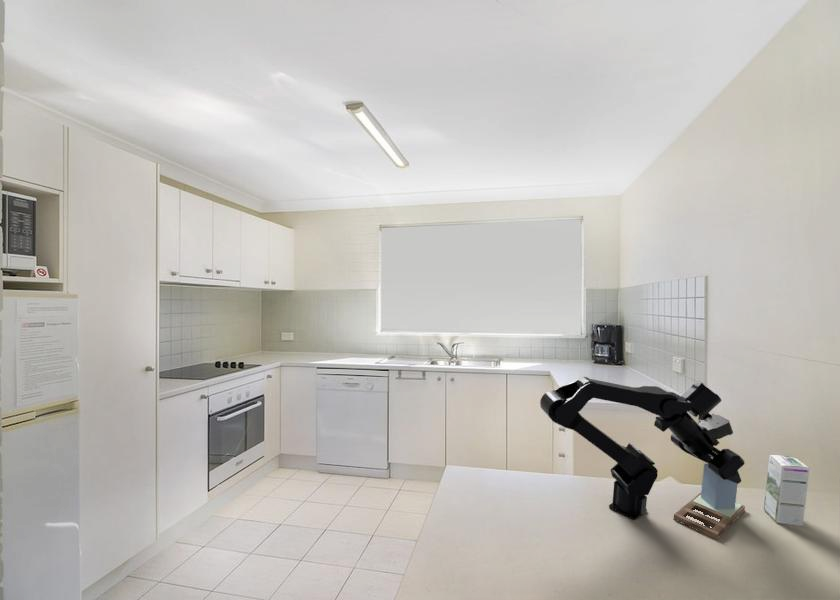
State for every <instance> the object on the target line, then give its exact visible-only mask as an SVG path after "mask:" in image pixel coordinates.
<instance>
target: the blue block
mask: <svg viewBox="0 0 840 600" xmlns="http://www.w3.org/2000/svg"><path fill="white" fill-rule="evenodd" d="M708 465H709V464H708V463H704V464H703V474H702V481H701V490H700V491H701V492H700V493H701V498H702V499H703V500H704V501H706V502H707V503H708V504H709V505H710V506H711V507H713V508H714V509H735V502H736V499H737V493H738V485H739V484H737V483H734V482H732V481H729V480H727V479H726V480H723V479H722V478H720V477H719V476H718V475H716V474H715V473H714V472H713V471H712V470H711V469H710V468H709V467H708ZM736 503H737V502H736Z"/></svg>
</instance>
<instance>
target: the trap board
mask: <svg viewBox="0 0 840 600" xmlns="http://www.w3.org/2000/svg"><path fill="white" fill-rule="evenodd" d="M745 508H746V506H745V505H743V504H741V503H738V502H735V509H714V508H713V507H711V506H710V505H709V504H708V503H707V502H706V501H704V500H703V499H702V498H701V492H699V493H698V494H696V496H694V497H693V498H692V499H691V500H690V501H688V502H687V503H686V504H685V505H684V506H682V507H681V508H680V509H679V510H678V511H677V512H676V513H674V514H673V520H674V519H676V520H678V521H680V522H682V523H681V524H683V523H684V524H683V525H685V524H686V525H685V526H687V525H688V526H687V527H689V526H691V527H693V528H695V529H697V530H696V531H698V530H699V531H698V532H700V531H701V532H700V533H702V532H703V533H702V534H704V533H705V534H704V535H706V534H707V535H706V536H708V535H709V537H710V536H711V538H713V539H715V540H718V539H717V538H718V537H719V536H720V535H721V534H722V535H723V534H724V533H725V532H726V530H728V529H729V527H731V525H732V524H733V523H734V522H735V521H736V520H737V519H738V518H739V517H740V516H741V515H742V514H743V513H744V512H745V510H746V509H745ZM695 509H696V510H698V511H701V512H703V514H704V515H702V514H700V513H698V512H695V511H693V510H695ZM743 511H744V512H743ZM742 512H743V513H742ZM741 513H742V514H741ZM740 514H741V515H740ZM687 515H688V516H690V517H693V518H694V519H697V520H699V521H701V522H703V523H704V525H705V526H703V524H702V525H701V524H699V523H697V522H694V521H692V520H690V519H688V518H686V516H687ZM705 515H709V516H710V517H711V516H712V517H715V518H717V519H720V521H719V522H718V521H716V520H714V519H711V518H709V517H707V516H705ZM739 515H740V516H739ZM738 516H739V517H738ZM737 517H738V518H737ZM736 518H737V519H736ZM735 519H736V520H735ZM676 520H675V521H676ZM734 520H735V521H734ZM678 521H677V522H678ZM733 521H734V522H733ZM680 522H679V523H680ZM710 526H711V527H712V528H710ZM691 527H690V528H691ZM693 528H692V529H693ZM695 529H694V530H695ZM722 535H721V536H722ZM721 536H720V537H721ZM720 537H719V538H720Z"/></svg>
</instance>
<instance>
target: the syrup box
mask: <svg viewBox="0 0 840 600" xmlns="http://www.w3.org/2000/svg"><path fill="white" fill-rule="evenodd" d="M768 456H769V459H768V464H767V465H768V466H767V476H766V485H765V495H764V505H763V510H764V511H765V512H766V513H767V514H768V516H769V517H770V518H771V519H772V520H773V521H774V522H775V523H778V524H781V525H788V526H789V525H790V526H799V527H803V526H804V519H805V511H806V510H805V509H806V503H807V502H806V501H807V494H808V493H807V492H808V486H809V478H810V477H809V476H810V467H809V466H807V465H806V464H805V463H803V462H802V461H800V460H799V459H798V458H797V457H795V456H791V455H785V454H784V455H783V454H769V455H768Z"/></svg>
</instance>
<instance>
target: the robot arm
mask: <svg viewBox="0 0 840 600" xmlns="http://www.w3.org/2000/svg"><path fill="white" fill-rule="evenodd" d="M593 399H596V400H602V401H607V402H613V403H618V404H623V405H628V406H633V407H637V408H640V409H642V410H645V411H646V412H648V413H650V414H653V415H656V416H655V420H654V424H653V426H654V427H655V428H657V429H659V430H660V431H661V432H666V430H668V429H669V430H670V432H671V434H670V441H671V442H672V443H673V444H674V445H675V446H676V447H678V448H679V449H680V450H681V451H683V452H685V453H686V454H688V455H690V456H692V457H694V458H697V459H698V460H701V461H703V462H705V464H709V465H708V467H709V468H710V469H711V470H712V471H713V472H714V473H715V474H716V475H718V476H719V477H720V478H722V479H723V480H726V479H727V480H729V481H732V482H734V483H737V484H738V485H739V484H740V483H741V482H742V478H741V476H740V473H739V470H740V469H741V468H742V467H743V466H744V465H745V460H744V459H743V457H742V456H740V454H738V453H736V452H735V451H733V450H731V449H729V448H722V449H721V450H720V449H719V448H717V447H716V446H718V445H719V444H720V441H719V440H721V439H722V438H726V437H728V436H732V435H733V434H734V431H733V428H732V425H731V423H730V420H729V419H727V418H725V417H724V416H722V415H720V414H715V413H712V414H711V413H710V412H711V411H712V410H713V409H714V408H715V407H716V406H718V405H719V404H720V403H721V402H722V398H721V397H720V395H719V394H717V393H716V392H714V391H713V390H711V389H710V388H709V387H707V386H706V385H705V384H704V383H703V382H701V381H698V380H696V381H695V382H693V384H692V385H691V387H689V388H688V389H686V391H685V392H684V393H683V394H682V395H679V394H678V393H675V392H671V391H667V390H666V389H663V388H661V387H660V386H656V385H654V386H653V385H652V386H650V385H642V386H638V387H636V386H635V387H634V386H628V385H627V386H626V385H622V384H619V383H618V384H617V383H613V382H608V381H603V380H598V379H593V378H590V377H588V376H581V377H579V378H577V379H575V380H573V381H572V382H569V383H566V384H562V385H560V386H558V387H557V388H555V389H553V390H550V391H547V392H544V394H543V395H542V396H541V397H540V402H539V404H540V408H541V410H542V411H543V412H544V413H545V414H546V415H547V416H548V418H549V419H550V420H551V421H552V422H553V423H555V424H557V425H559V426H561V427H563V428H565V429H568V430H572V431H574V432H576V433H577V434H579V436H581V437H583V438H584V439H585V440H587V441H588V442H589V443H590V444H592V445H593V446H595V447H596V448H597V449H599V450H600V451H601V452H602V453H604V454H606V455H607V457H609V458H611V459H612V460H614V461H615V464H614V466H613V467H612V468H610V473H611V477H612V478H613V479H614V480H615V481H614V482H613V491H612V492H613V494H612V503H610V504H609V505H608V508H609V509H611V510H613V511H614V512H617V513H619V514H621V515H623V516H625V517H627V518H629V519H631V520H633V521H634V520H637V519H638V518H640V517H642V515H644V514H645V513H646V512H647V511H648V509H647V501H648V498H647V496H648V495H649V494H650V492H651V490H652V488H653V486H654V483H655V482H656V480H657V479H658V469H657V467H656V466H655V465H656V463H655V462H654V461H653V460H652V459H651V458H650V457H648V456H647V455H646V454H645V453H643V452H642V450H640V449H637V448H636V447H635V446H634V445H633V444H631V442H628V444H627V445H626V446H625V445H624V446H623V445H621V444H620V443H618V442H617V441H616V440H614V439H613V438H612V437H610V436H608V435H607V433H605V432H603V431H602V430H601V429H599V428H598V427H597V426H596V425H594V424H593V423H592V422H591V421H589V420H588V419H586V417H584V416H582V414H581V413H580V412H581V411H582V409H583V408H584V407H585V406H586V405H587V403H588V402H589V401H591V400H593ZM692 416H693V417H695V418H697V417H698V418H697V419H698V423H697V422H696V421H695V420H694V418H693V417H692Z"/></svg>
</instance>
